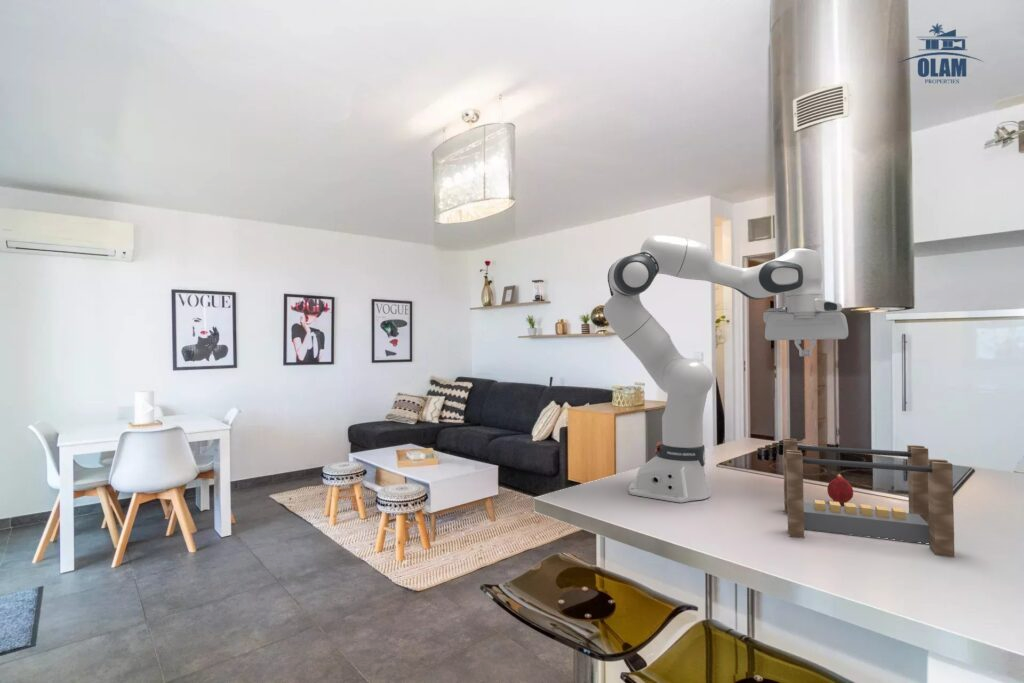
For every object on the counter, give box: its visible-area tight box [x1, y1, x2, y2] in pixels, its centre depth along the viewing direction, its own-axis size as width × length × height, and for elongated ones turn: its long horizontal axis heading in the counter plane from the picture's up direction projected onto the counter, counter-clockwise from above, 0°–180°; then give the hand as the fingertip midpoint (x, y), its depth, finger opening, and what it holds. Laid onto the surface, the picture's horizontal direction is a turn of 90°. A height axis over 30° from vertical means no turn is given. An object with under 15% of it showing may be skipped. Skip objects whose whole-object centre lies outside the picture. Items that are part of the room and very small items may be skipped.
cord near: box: [803, 457, 932, 473], centre depth 110 cm, size 28×1×1 cm, turn 65°
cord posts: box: [782, 437, 955, 558], centre depth 118 cm, size 29×20×18 cm
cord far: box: [797, 444, 911, 458], centre depth 125 cm, size 28×1×1 cm, turn 65°
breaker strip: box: [804, 499, 930, 545], centre depth 118 cm, size 24×8×6 cm, turn 65°
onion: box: [826, 473, 854, 506], centre depth 136 cm, size 6×6×8 cm
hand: (805, 356), depth 144 cm, fingers closed
